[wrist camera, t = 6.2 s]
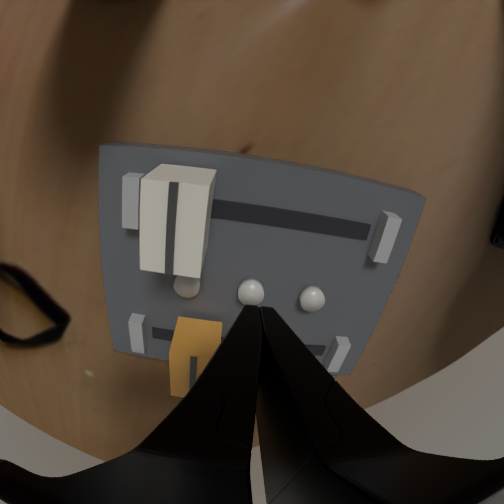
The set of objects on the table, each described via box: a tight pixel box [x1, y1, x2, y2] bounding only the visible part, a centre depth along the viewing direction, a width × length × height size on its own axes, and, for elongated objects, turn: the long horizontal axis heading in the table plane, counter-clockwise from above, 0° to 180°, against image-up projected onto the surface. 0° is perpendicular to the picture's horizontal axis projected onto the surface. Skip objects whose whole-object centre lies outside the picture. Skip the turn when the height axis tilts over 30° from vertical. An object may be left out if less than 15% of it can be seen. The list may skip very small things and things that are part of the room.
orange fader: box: [169, 316, 222, 398], centre depth 19 cm, size 3×4×4 cm, turn 171°
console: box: [98, 142, 426, 375], centre depth 19 cm, size 20×16×2 cm
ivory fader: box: [140, 164, 217, 278], centre depth 15 cm, size 3×4×4 cm, turn 171°
